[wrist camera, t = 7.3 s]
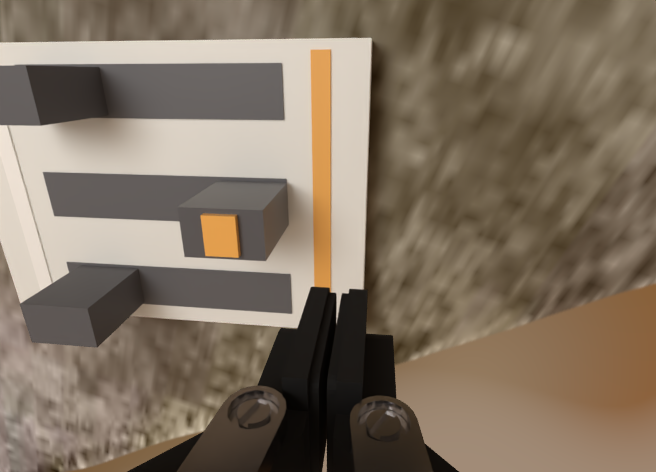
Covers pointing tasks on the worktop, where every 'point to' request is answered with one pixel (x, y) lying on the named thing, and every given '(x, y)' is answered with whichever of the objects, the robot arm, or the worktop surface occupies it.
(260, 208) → the block
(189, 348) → the worktop surface
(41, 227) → the breaker switch panel
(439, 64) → the worktop surface
